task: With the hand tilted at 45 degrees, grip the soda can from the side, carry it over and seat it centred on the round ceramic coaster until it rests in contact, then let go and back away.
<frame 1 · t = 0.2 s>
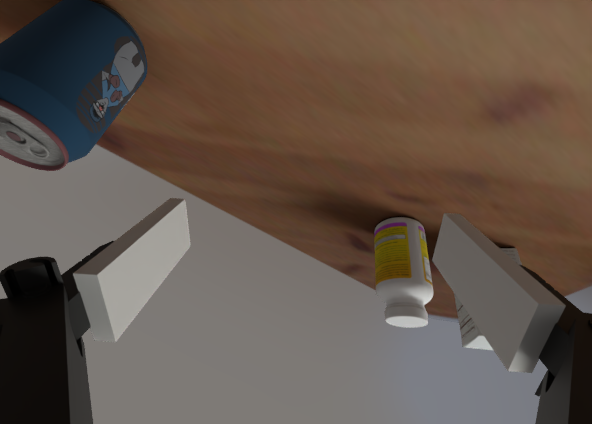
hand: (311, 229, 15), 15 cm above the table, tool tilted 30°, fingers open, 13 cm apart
supplement bottle: (398, 227, 41), on the table
supplement box: (479, 256, 45), on the table
soda can: (111, 39, 24), on the table
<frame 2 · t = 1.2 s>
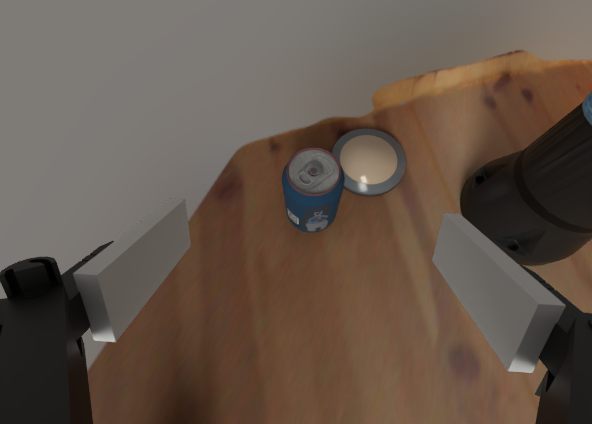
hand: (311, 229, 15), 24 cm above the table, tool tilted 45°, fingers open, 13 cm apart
coaster: (366, 163, 44), on the table
soda can: (311, 212, 42), on the table
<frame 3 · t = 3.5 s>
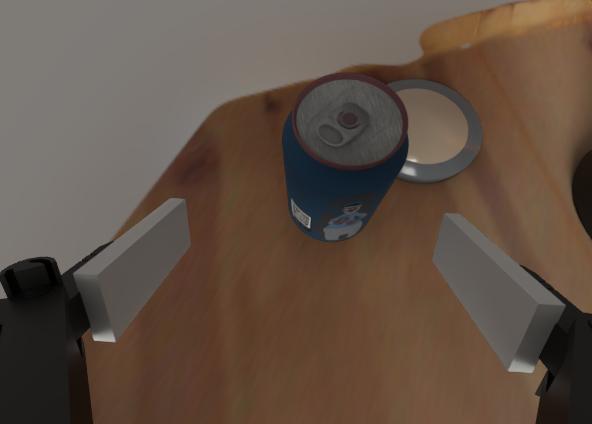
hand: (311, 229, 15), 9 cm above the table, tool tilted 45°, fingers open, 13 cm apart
coaster: (416, 132, 28), on the table
soda can: (328, 208, 26), on the table
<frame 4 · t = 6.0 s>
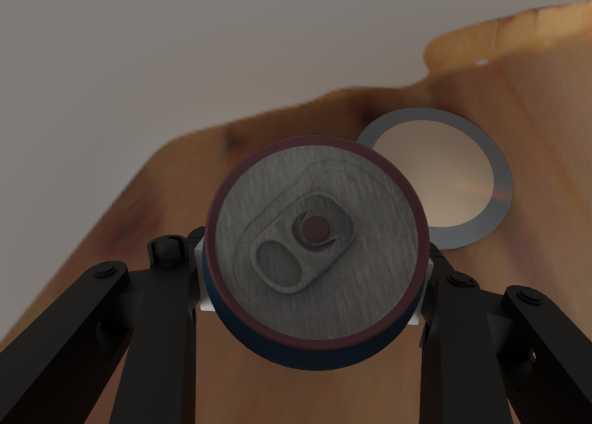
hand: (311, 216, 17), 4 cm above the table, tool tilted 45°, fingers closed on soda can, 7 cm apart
coaster: (423, 178, 21), on the table
soda can: (306, 288, 19), on the table, touching gripper
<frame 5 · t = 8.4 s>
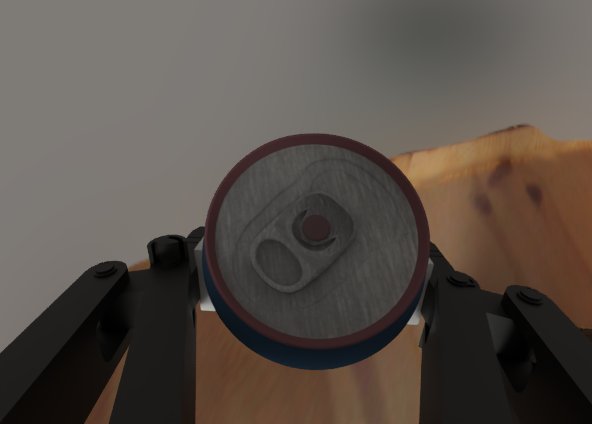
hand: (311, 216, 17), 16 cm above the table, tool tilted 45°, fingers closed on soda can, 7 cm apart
soda can: (306, 288, 19), point 13 cm above the table, touching gripper
when the fingers open (6 cm above the table, at t = 11.2 s): soda can stays where it is, resting on coaster.
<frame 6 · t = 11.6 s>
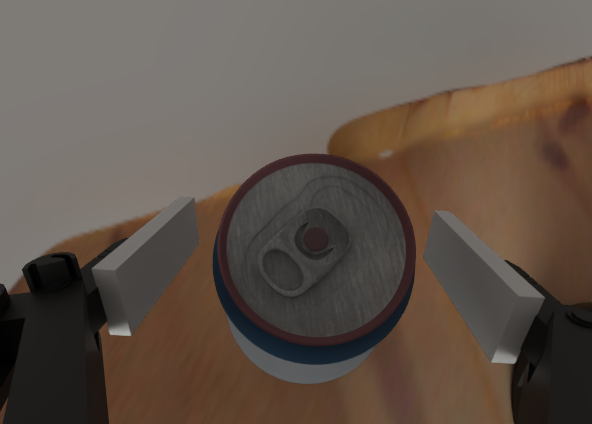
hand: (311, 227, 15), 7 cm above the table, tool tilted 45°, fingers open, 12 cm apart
coaster: (306, 292, 21), on the table
soda can: (305, 290, 20), point 1 cm above the table, touching coaster
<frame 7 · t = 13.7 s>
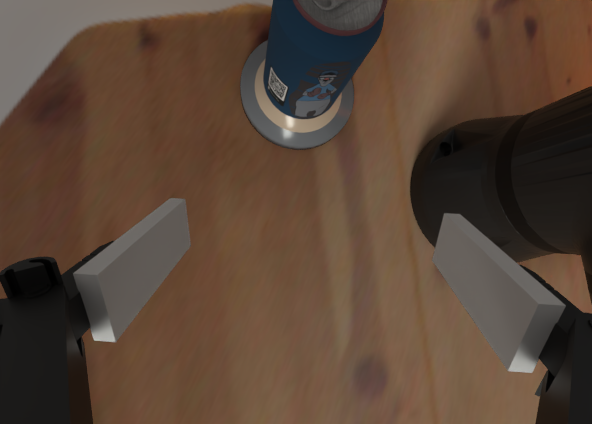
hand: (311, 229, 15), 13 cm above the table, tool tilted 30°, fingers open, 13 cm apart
coaster: (296, 95, 29), on the table
soda can: (298, 90, 28), point 1 cm above the table, touching coaster
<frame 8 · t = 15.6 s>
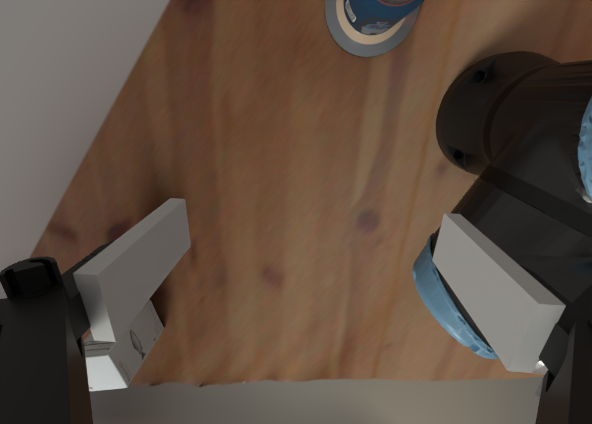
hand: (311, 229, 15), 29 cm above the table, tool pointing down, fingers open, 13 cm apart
coaster: (370, 5, 35), on the table
supplement box: (142, 315, 57), on the table
soda can: (372, 3, 34), point 1 cm above the table, touching coaster
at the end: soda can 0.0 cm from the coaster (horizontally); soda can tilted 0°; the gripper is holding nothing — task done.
